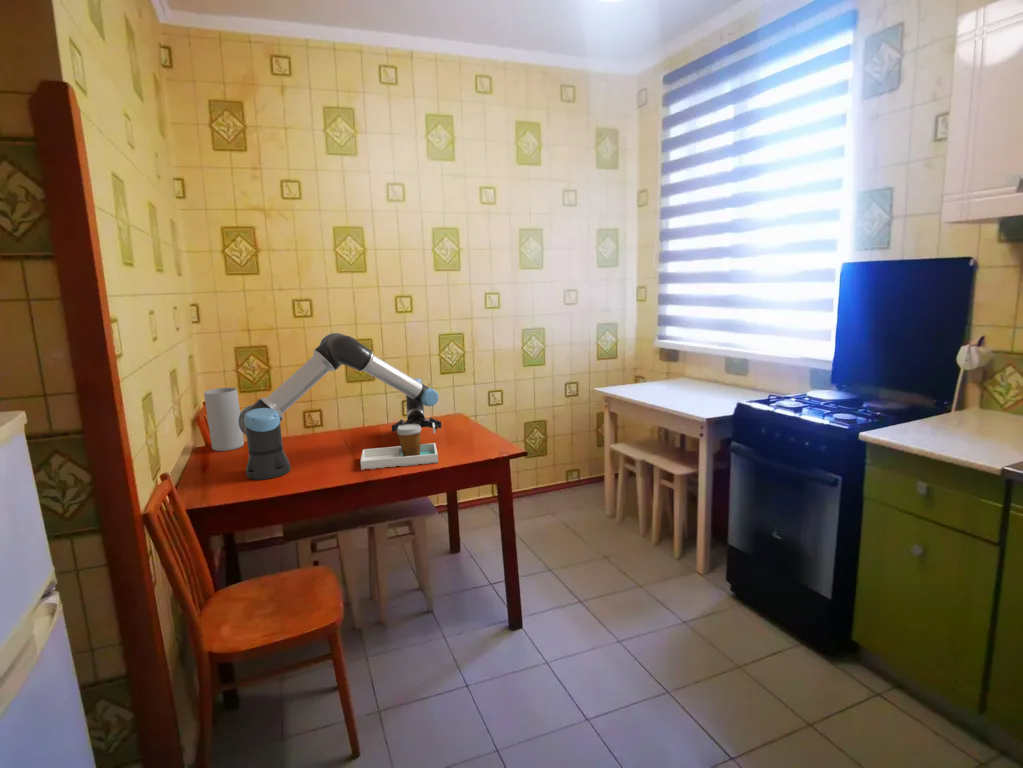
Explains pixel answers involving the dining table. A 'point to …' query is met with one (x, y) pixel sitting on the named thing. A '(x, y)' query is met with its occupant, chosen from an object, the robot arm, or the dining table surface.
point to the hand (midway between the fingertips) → (417, 431)
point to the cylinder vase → (224, 419)
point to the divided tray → (397, 457)
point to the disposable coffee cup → (410, 439)
